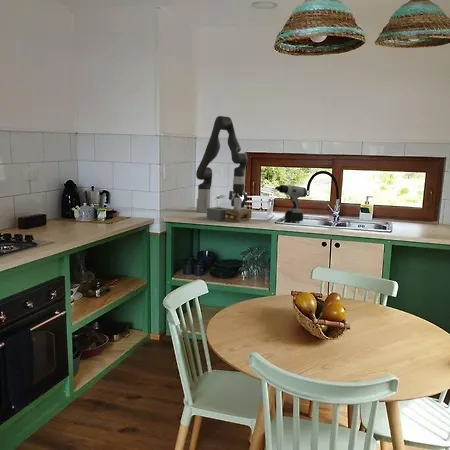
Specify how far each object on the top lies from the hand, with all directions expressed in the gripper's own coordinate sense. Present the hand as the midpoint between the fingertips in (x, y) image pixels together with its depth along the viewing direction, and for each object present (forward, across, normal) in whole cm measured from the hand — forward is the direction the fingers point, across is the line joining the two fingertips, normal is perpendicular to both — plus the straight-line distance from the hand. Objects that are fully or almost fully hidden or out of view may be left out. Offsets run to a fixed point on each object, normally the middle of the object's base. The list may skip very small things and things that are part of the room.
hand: (237, 207), depth 326 cm
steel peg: (+9, 0, 0) cm, 9 cm away
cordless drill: (+10, -21, -32) cm, 39 cm away
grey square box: (+9, +13, +4) cm, 17 cm away
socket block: (+9, 0, 0) cm, 9 cm away
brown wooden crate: (+8, 0, -1) cm, 8 cm away
